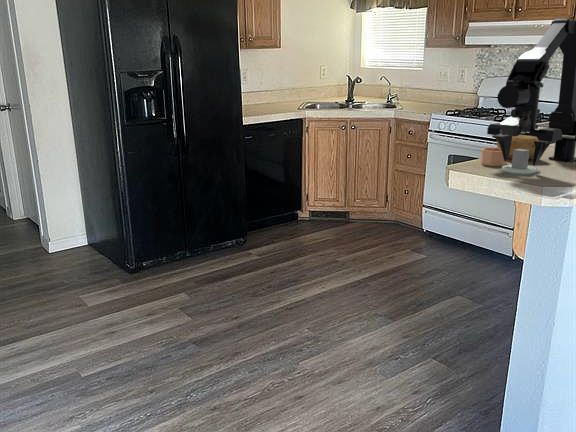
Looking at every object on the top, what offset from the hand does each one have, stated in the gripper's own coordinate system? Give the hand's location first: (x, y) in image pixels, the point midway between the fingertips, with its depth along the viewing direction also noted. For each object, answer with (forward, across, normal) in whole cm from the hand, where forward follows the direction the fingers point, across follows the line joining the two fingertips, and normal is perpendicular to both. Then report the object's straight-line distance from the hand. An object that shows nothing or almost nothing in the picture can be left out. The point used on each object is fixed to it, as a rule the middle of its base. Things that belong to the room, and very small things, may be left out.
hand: (519, 163), depth 152 cm
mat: (+2, 0, 0) cm, 2 cm away
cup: (+2, -10, +4) cm, 12 cm away
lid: (+2, 0, 0) cm, 2 cm away
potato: (+3, -10, +16) cm, 19 cm away
